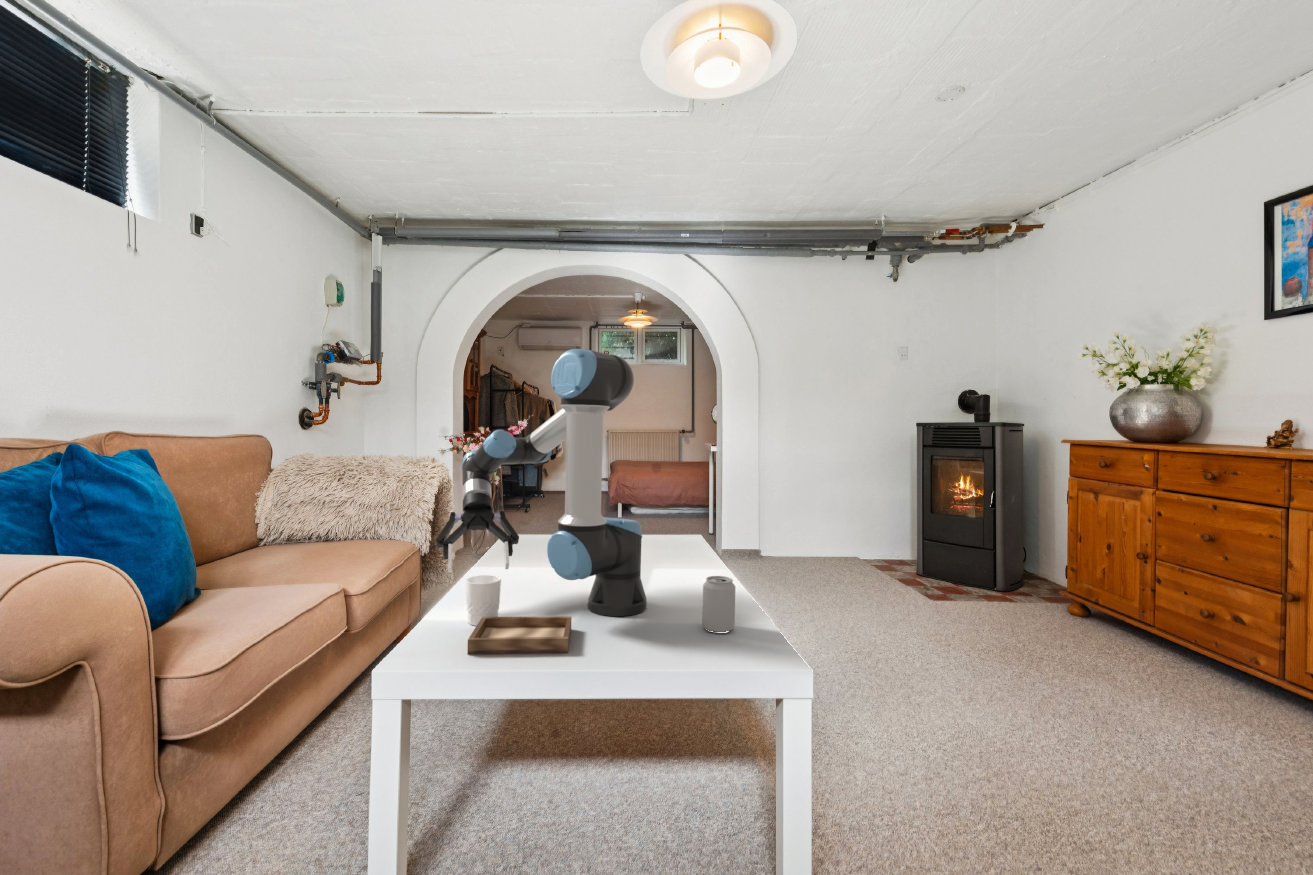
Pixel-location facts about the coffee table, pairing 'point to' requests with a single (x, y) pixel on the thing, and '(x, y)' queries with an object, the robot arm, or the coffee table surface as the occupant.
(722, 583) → the can
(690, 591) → the coffee table surface
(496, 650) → the walnut tray
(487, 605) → the white cup
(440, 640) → the coffee table surface
